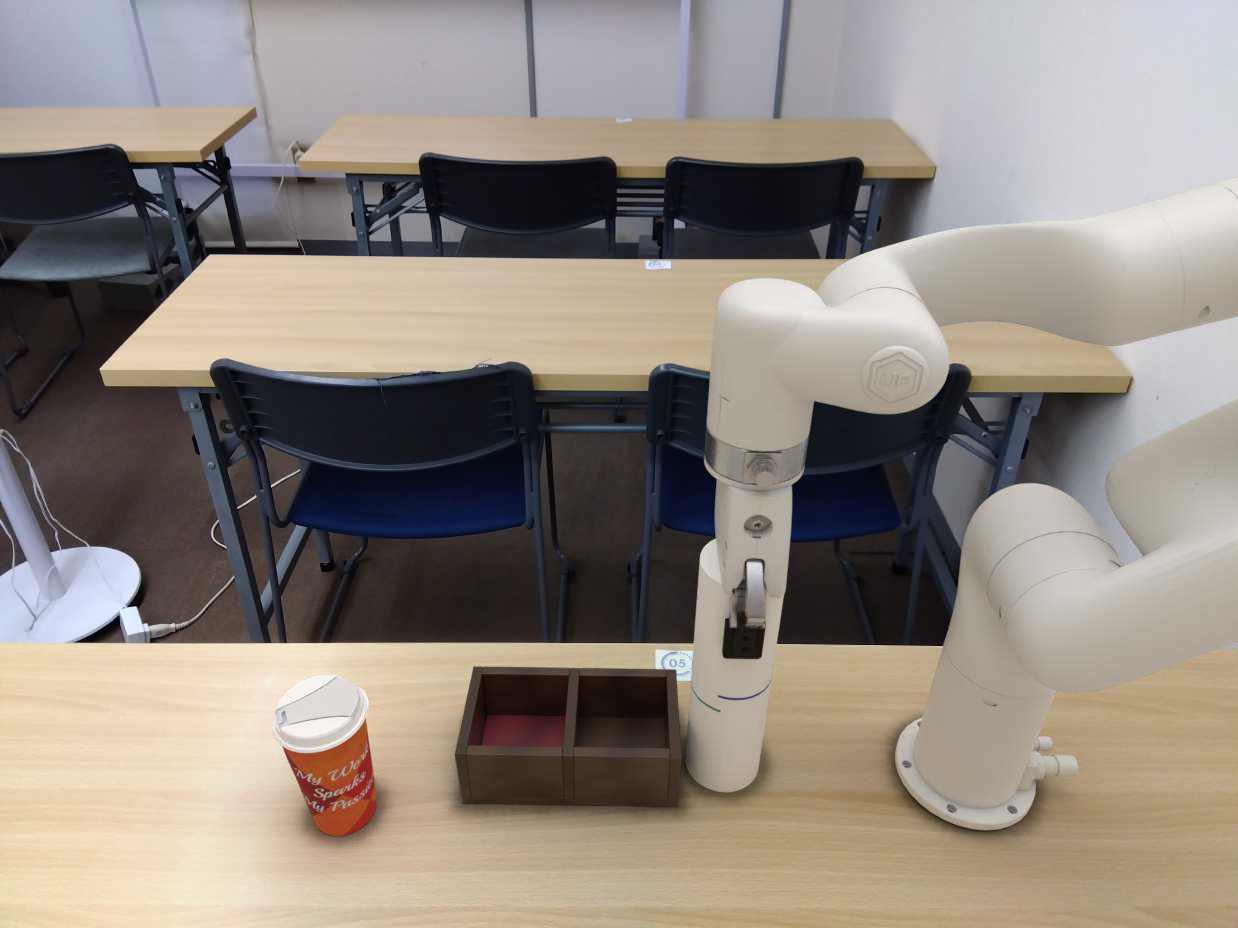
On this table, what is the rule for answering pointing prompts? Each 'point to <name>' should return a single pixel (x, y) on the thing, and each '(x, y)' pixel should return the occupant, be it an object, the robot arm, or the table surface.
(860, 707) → the table surface
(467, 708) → the wooden compartment box
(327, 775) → the paper cup
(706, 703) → the cylindrical container
